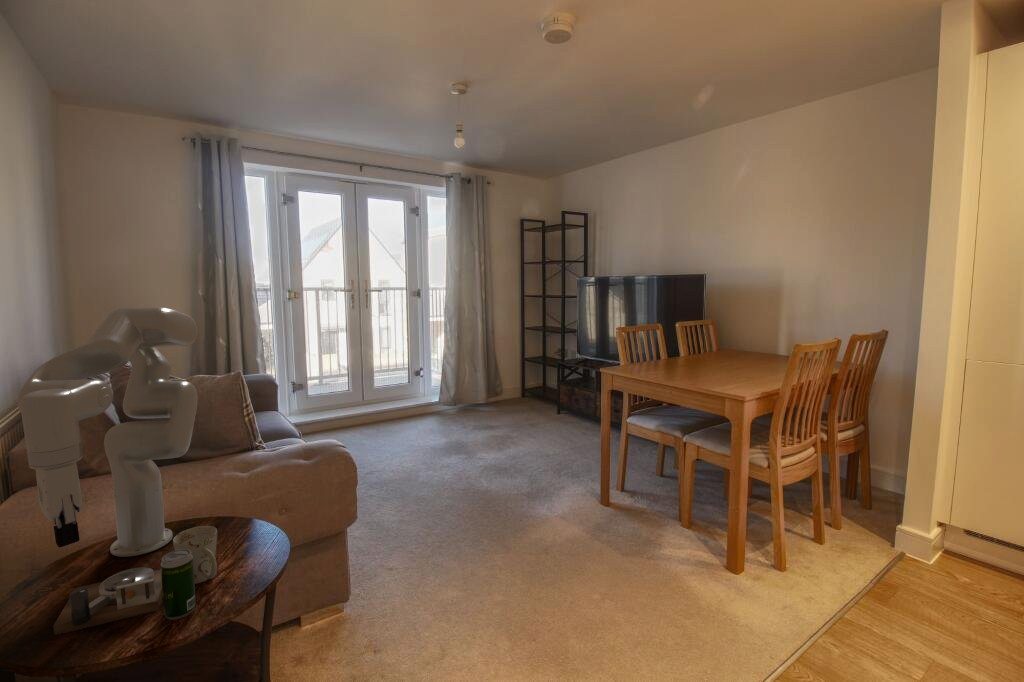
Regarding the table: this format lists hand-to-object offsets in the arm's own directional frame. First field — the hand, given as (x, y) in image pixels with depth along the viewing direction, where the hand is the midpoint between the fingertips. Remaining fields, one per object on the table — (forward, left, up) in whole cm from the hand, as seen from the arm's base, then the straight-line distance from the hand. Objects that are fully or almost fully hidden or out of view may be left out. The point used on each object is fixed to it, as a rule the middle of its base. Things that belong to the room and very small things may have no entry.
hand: (68, 542), depth 96 cm
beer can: (+8, +19, -15) cm, 25 cm away
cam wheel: (+2, +7, -13) cm, 15 cm away
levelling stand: (-1, +7, -15) cm, 16 cm away
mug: (-2, +22, -15) cm, 27 cm away
